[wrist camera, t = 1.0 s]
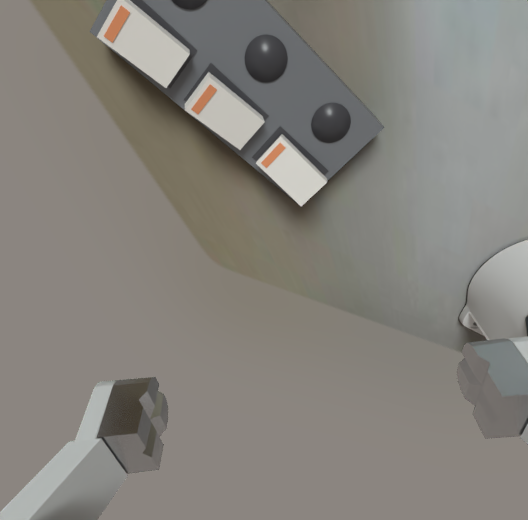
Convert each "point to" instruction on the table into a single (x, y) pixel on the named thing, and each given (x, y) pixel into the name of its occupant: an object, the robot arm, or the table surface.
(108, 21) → the rocker
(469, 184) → the table surface
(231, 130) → the rocker middle
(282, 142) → the rocker
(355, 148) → the grey rocker switch panel
